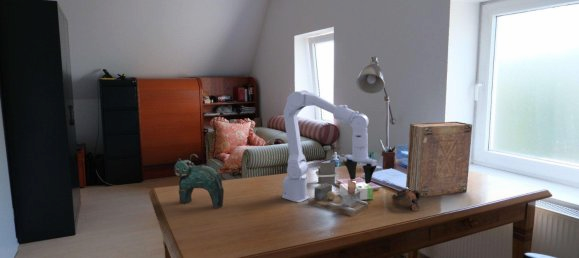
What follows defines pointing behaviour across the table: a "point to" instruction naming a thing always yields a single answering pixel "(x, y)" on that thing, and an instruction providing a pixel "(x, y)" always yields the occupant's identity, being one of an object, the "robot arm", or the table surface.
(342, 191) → the ink box
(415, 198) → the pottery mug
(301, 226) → the table surface
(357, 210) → the base
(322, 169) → the architectural model
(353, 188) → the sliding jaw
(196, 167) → the ceramic cat
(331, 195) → the tan ball
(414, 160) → the book
